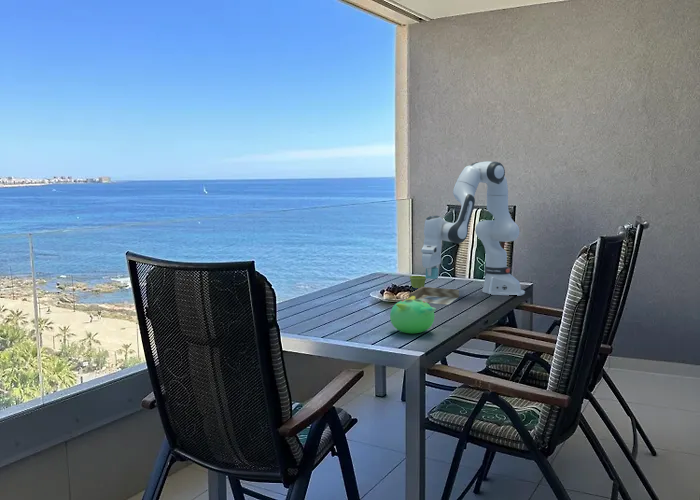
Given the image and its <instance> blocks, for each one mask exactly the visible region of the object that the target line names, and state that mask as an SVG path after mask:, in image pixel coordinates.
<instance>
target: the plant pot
mask: <svg viewBox="0 0 700 500" xmlns="http://www.w3.org/2000/svg"><path fill="white" fill-rule="evenodd" d="M409 281H410V286H412V287H414V288H418V289H419V288H421V287H425V284H426V281H427V278H426V275H425V276H424V275H411V276H410V275H409ZM412 287H411V288H412Z"/></svg>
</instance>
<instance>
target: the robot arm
mask: <svg viewBox="0 0 700 500" xmlns="http://www.w3.org/2000/svg"><path fill="white" fill-rule="evenodd" d="M505 175H506V169H505V166H504V165H503V164H502V163H501V162H498V161H490V160H489V161H478V162H473V163H472V164H469V165H467V166H465V167H464V168H463V169H462V171H461V172H460V174H459V176H458V177H457V180H456V182H455V184H454V187H453V190H452V196H453V197H454V198H455V200H456V201H457V202H459V203H460V207H461V208H460V212H459V215H458V217H457V220H456V221H455V222H449V221H446V220H445V219H443V218H442V217H441V216H440V215H431V216H428V217H426V218H425V221H424V225H423V226H424V228H423V235H424V239H423V246H422V248H421V249H420V252H421V254H422V255H421V262H422V263H421V264H422V268H423V269H426V268H427V271H428V276H432V271H431V269H432V268H438V265H440V264H441V263H442V241H444V242H449V243H454V244H458V245H459V244H462V243H464V242H465V241H466V240H467V237H468V235H469V226H470V221H471V218H472V215H473V211H474V207H475V203H476V199H475V195H476V192H477V188H478V186H479V183H483V184H484V183H486V186H487V187H486V189H487V190H486V210H487V211H488V212H489V213H490V214H491V215H492V217H493V220H491V219H486V220H480V221H478V222H477V223H476V226H475V234H476V237H477V238H479V239H480V241H481V243H482V245H483V247H484V248H483V249H484V251H485V265H484V282H483V286H482V293H485V294H488V295H490V294H491V296H509V295H517V296H516V297H519V296H524V295H525V294H526V291H525V290H523V289H521V288H522V287H521V283H520V281H519V280H518V279H517V278H516V277H514V276H513V275H512V274H511V267H508V266H507V264H508V262H507V261H508V260H507V259H508V253H507V251H506V250H505V248H503V247H502V246H501V243H500V242H503V243H504V242H505V243H507V242H508V243H509V242H515V241H516V240H517V239H518V238H519V236H520V228H519V225H518V224H517V223H516V222H515V221H514V219H513V218H512V216H511V213H510V209H509V189H508V188H509V186H508V180H507V177H506V176H505Z"/></svg>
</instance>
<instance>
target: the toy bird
mask: <svg viewBox="0 0 700 500" xmlns="http://www.w3.org/2000/svg"><path fill="white" fill-rule="evenodd" d="M436 310H437V308H436V307H432V306H431V305H430V303H427V302H425V301H422V300H419V299H416V298H415V296H411V297H410V298H409V297H408V298H405V299H401V300H400V301H398V302H396V303H395V304H394V305H393V306H392V308H391V310H390V313H389V318H390V323H391V324H392V326H393V327H394V328H395V329H396V330H397V331H399V332H401V333H405V334H420V333H424V332H426V331H427V330H429V329H430V328H431V327H432V325H433V324H434V321H435V317H436V316H435V311H436Z"/></svg>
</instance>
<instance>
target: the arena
mask: <svg viewBox="0 0 700 500" xmlns="http://www.w3.org/2000/svg"><path fill="white" fill-rule="evenodd" d="M408 295H409V297H408V298H410V297H411V296H415V298H416V299H419V300H422V301H425V302H427V303H428V304H437V305H446V306H447V305H450V304H451V303H453V302H454V301H455V300H458V299H459V298H460V289H455V288H442V287H441V288H440V287H430V286H429V287H428V286H424V287H421V288H419V289H417V290H415V291H413V292H412V291H411V292H410V293H408Z"/></svg>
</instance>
